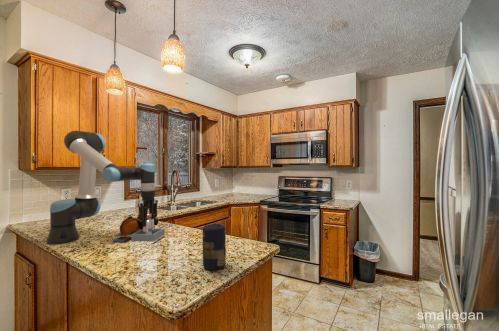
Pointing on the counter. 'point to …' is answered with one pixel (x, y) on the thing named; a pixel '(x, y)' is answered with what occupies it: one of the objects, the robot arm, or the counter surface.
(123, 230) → the tool
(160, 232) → the bin
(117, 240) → the collar plate
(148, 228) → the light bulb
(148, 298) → the counter surface
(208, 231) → the canister
